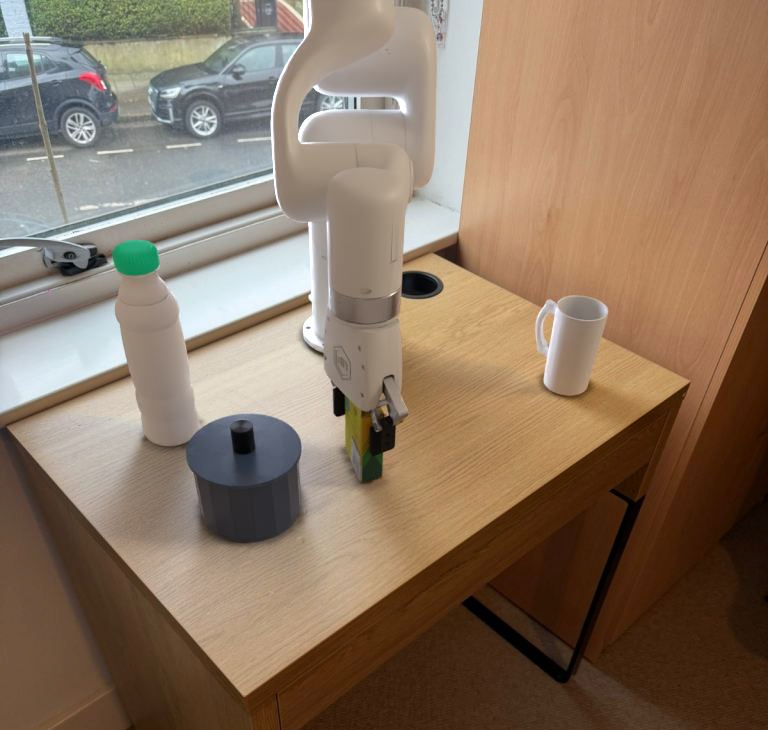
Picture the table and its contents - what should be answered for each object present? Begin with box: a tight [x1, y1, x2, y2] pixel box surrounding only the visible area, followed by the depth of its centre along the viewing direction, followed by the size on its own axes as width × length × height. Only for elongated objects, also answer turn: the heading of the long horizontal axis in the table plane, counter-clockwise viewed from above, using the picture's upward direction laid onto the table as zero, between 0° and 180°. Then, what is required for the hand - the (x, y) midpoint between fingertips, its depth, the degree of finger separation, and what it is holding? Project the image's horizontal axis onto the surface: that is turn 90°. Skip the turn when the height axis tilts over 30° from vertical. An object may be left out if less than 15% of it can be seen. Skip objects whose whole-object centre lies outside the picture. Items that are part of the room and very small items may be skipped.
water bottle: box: [112, 239, 201, 447], centre depth 90 cm, size 7×7×25 cm
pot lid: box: [185, 413, 302, 489], centre depth 82 cm, size 12×12×4 cm
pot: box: [192, 460, 302, 544], centre depth 86 cm, size 11×11×8 cm
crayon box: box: [344, 395, 386, 484], centre depth 90 cm, size 7×3×12 cm, turn 17°
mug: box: [534, 294, 609, 397], centre depth 106 cm, size 10×7×12 cm, turn 43°
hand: (363, 430), depth 91 cm, fingers closed on crayon box, 7 cm apart
